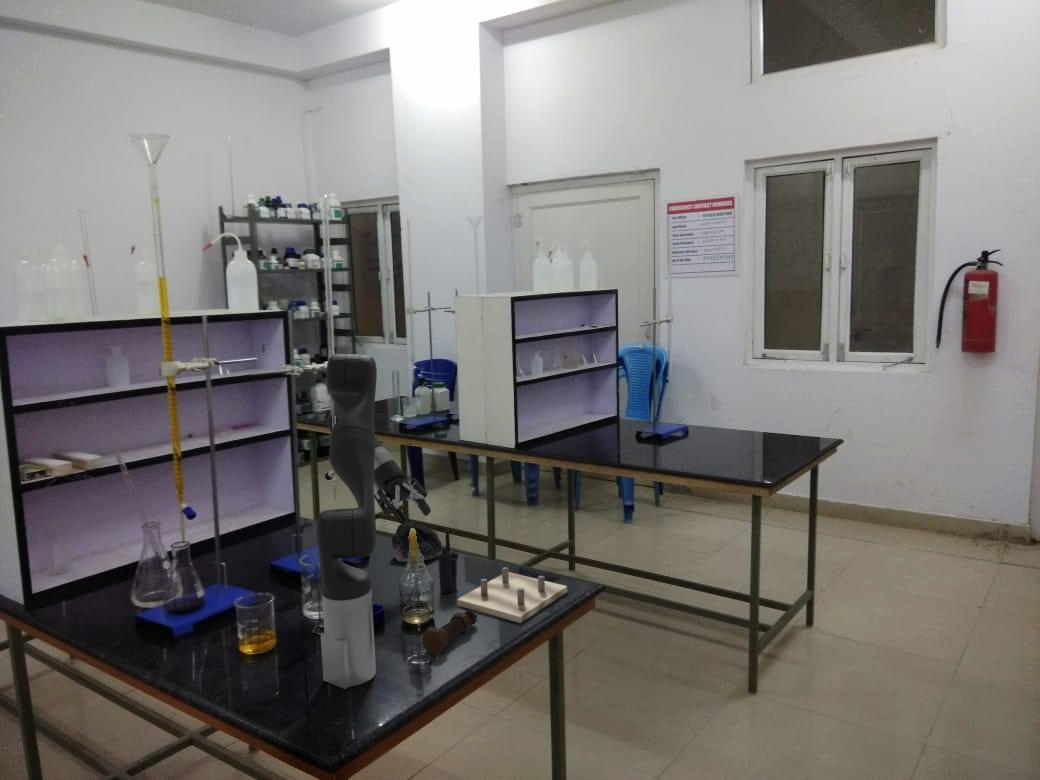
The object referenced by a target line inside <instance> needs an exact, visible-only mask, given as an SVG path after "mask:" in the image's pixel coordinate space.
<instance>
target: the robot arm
mask: <svg viewBox="0 0 1040 780" xmlns="http://www.w3.org/2000/svg"><path fill="white" fill-rule="evenodd" d="M377 369H378V368H377V363H376V361H375V358H374V357H373V356H372V355H367V354H356V353H354V354H352V353H346V354H345V353H335V354H332V355H331V356H330V357H329V358H328V361H327V364H326V370H325V371H326V373H325V374H326V376H325V379H326V387H327V390H328V393H329V395H330V398H331V399H332V401H333V413H334V414H335V416H336V424H335V426H334V427H333V429H332V413H331V414H330V415H328V417H327V419H326V427H327V428H328V430H329V432H330V436H329V453H328V454H329V455H328V458H329V462H330V465H331V467H332V469H333V471H334V472H335V473H336V475H337V476H338V477H339V478H340V480H341V481H342V482H343V484H344V485H346V487H347V488H348V489H349V490H350V492H351V494H352V495H353V497H354V499H355V501H356V505H357V506H358V507H355V508H354V507H353V508H338V509H337V508H336V509H325V510H323V511H320V513H319V514H318V516H317V519H316V525H315V526H316V530H315V531H316V543H317V549H318V557H319V567H320V581H321V595H322V599H321V600H322V611H323V612H322V613H323V628H324V629H323V630H324V632H323V633H321V634H320V646H321V647H320V648H321V664H322V677H323V679H322V680H323V681H324V682H327V683H329V684H330V685H331V684H332V685H334V686H336V687H338V688H341V689H344V690H346V689H348V688H350V687H356V686H359V685H362V684H365V683H368V682H369V681H370V680H372V679H373V678H374V677H375V675H376V673H377V670H376V669H377V667H376V650H375V649H376V648H375V633H374V632H375V631H374V615H373V613H374V612H373V594H372V579H371V575H370V574H369V572H367V571H366V570H364V569H361V568H358V567H354V566H352V565H349V564H347V563H345V562H343V561H342V560H341V559H353V558H363V557H368V556H371V555H372V554H373V553H374V551H375V549H376V548H375V547H376V544H377V525H376V524H377V523H376V507H375V501H376V502H377V504H378V507H380V509H381V511H382V512H383V513H384V514H385V515H388V514H391V515H393V517H394V518H395V519H396V520H397V522H398V523H399V525H400V524H401V525H404V524H406V523H408V521H409V519H408V517H407V516H406V514H405V513H404V511H403V510H402V509H401V507H400V503H401V502H405V501H408V502H413V503H414V504H416V505H417V507H418V508H419V510H420V511H421V512H422V514H423V515H424V517H428V515H430V513H431V512H432V510H431V507H430V506H429V504H428V503H427V502H426V500H425V498H427V496H428V494H429V493H428V492H427V491H426V490H425V489H424V487H423V486H422V484H421V483H420V482H419V480H418V479H417V478H416V477H412V478H411V479H410V480H406V479H405V475H404V472H403V470H402V469H401V467H400V466H399V465H398V463H397V462H396V461H395V459H394V458H393V456H392V455H391V454H390V452H389V451H388V450H387V449H386V448H385V447H384V446H383V443H381V441H380V440H379V438H378V437H377V436H376V435H375V433H376V431H375V403H376V392H377V390H376V389H377V380H378V379H377V376H378V375H377V373H378V372H377V371H378V370H377ZM374 485H375V486H374ZM374 487H376V489H377V491H376V492H375V489H374ZM399 507H400V508H399Z"/></svg>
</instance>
